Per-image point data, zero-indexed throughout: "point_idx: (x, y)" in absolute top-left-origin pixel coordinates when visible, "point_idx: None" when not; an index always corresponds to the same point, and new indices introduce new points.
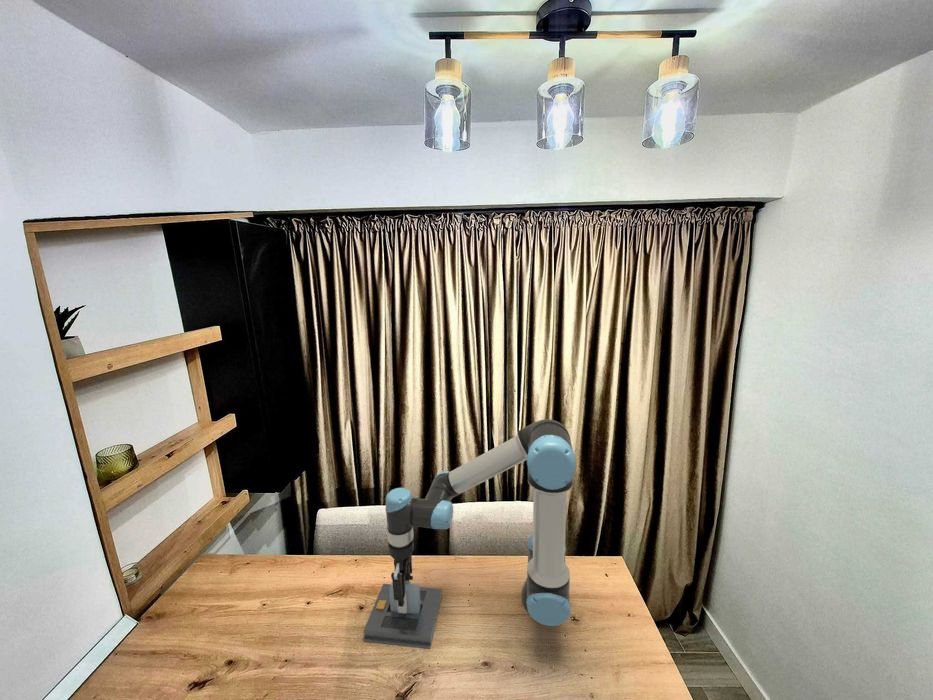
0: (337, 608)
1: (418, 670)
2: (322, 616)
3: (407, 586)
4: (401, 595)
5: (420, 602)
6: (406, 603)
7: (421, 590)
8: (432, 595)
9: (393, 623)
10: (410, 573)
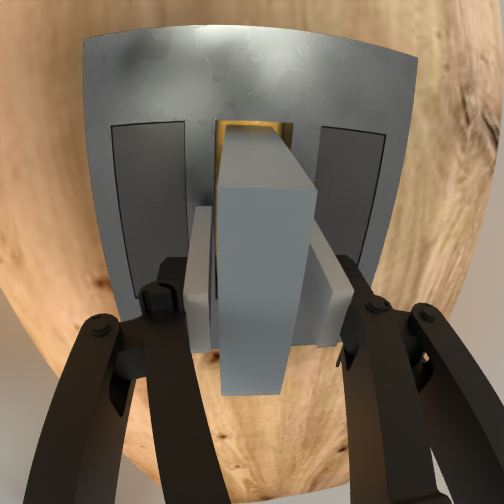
0: (229, 399)
1: (458, 106)
2: (257, 412)
3: (255, 301)
4: (463, 346)
5: (225, 137)
6: (314, 238)
7: (111, 159)
8: (136, 77)
9: (337, 251)
10: (119, 325)
